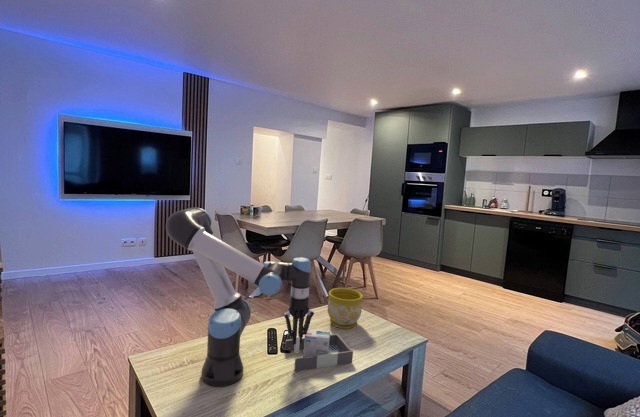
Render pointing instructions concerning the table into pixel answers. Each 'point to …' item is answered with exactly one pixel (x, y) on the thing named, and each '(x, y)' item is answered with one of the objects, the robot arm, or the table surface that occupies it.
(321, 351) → the light bulb box
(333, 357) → the trap channel
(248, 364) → the table surface
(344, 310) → the flowerpot
